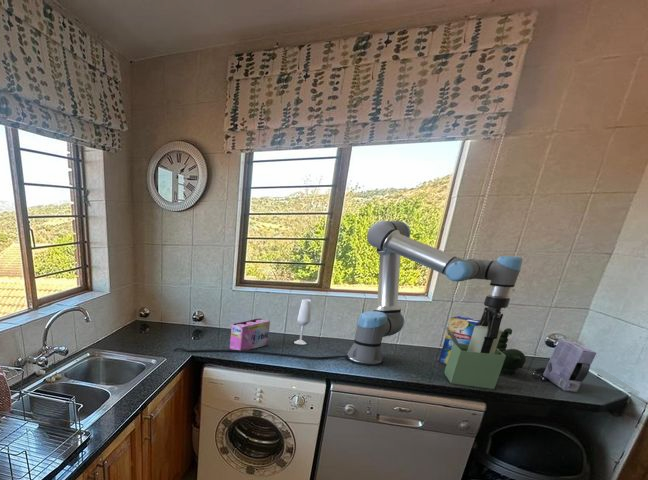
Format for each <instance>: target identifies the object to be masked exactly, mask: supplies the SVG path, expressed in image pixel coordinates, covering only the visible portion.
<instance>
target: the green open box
mask: <svg viewBox="0 0 648 480" xmlns="http://www.w3.org/2000/svg"><path fill="white" fill-rule="evenodd" d="M459 345H460V347H461V349H460V348H459V347H458V346H457V345H456V344H455V343H453V345H452V348H451V352H450V355H449V358H448V362H447V364H445V365H446V366H445V368H444V372H443V374H444V375H445V376H446V379H447V380H448V382H449V383H450V384H453V385H460V386H468V387H474V388H475V387H476V388H483V389H492V390H495V388H496V386H497V382H498V380H499V377H500V374H501V372H502V370H503V368H502V366H503V363H504V360H505V357H506V355H504V354H503V353H502V352H501V351H499V350H498V349H497V348H496V350H495V353H494V354H487V353H478V352H469V351H467V349H468V347H469V344H461V343H459Z"/></svg>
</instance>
